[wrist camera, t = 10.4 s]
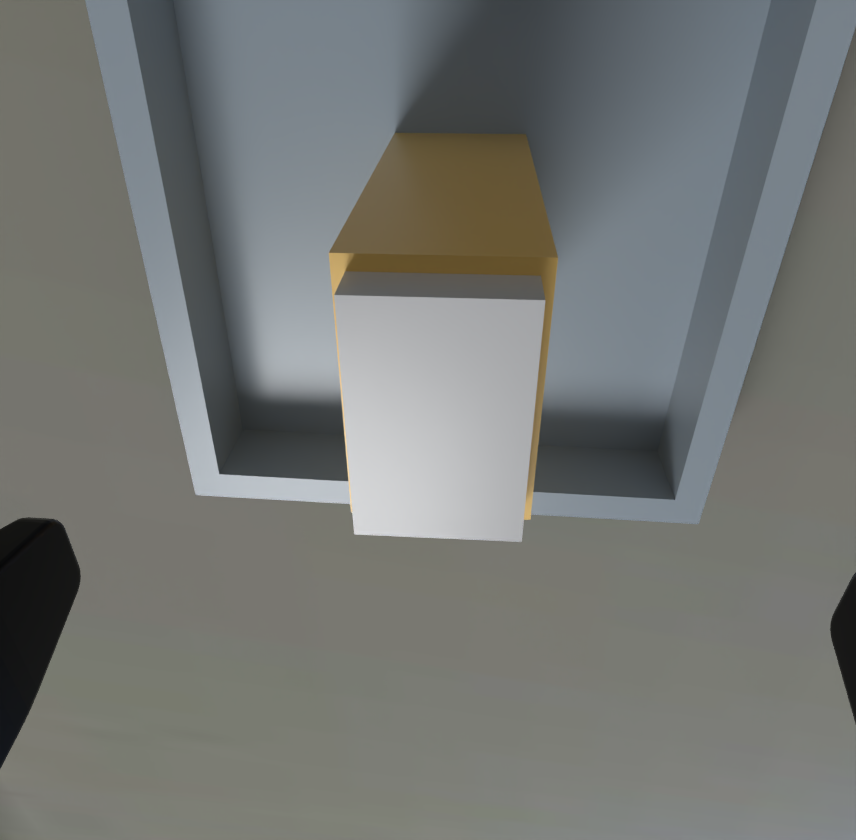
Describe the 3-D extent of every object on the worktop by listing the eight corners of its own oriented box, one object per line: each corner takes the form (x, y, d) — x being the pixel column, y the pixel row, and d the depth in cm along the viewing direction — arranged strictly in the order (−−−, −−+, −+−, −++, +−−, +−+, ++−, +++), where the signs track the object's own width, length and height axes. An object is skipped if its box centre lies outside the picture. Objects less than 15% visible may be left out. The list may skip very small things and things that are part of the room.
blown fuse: (526, 134, 15) (564, 281, 8) (512, 315, 18) (533, 554, 11) (394, 133, 16) (316, 275, 8) (399, 313, 18) (342, 545, 11)
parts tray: (672, 458, 21) (698, 524, 19) (228, 434, 22) (195, 494, 19) (827, -115, 13) (906, -135, 11) (129, -124, 14) (52, -146, 11)
